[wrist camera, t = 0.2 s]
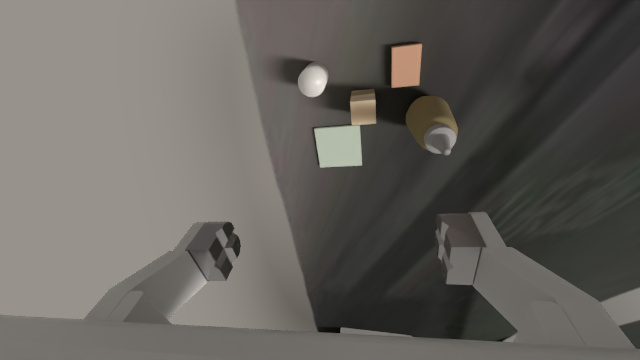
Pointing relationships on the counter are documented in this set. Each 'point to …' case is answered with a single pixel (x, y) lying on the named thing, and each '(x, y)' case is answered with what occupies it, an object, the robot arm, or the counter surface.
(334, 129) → the mat
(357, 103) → the maple block
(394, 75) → the terracotta tile
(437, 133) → the squeeze bottle
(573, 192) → the counter surface
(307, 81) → the white rounded dome
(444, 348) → the robot arm
